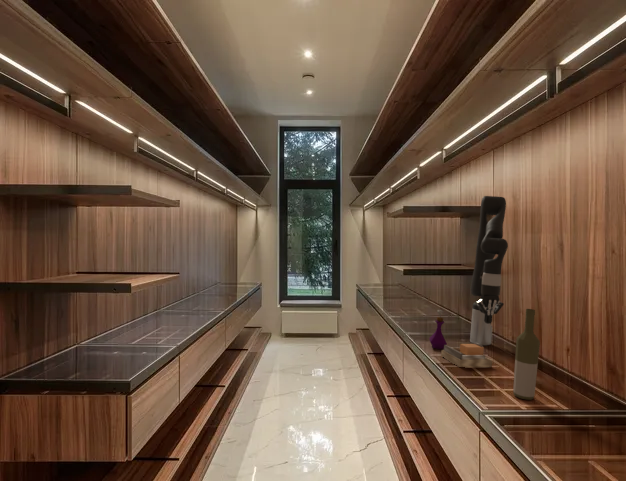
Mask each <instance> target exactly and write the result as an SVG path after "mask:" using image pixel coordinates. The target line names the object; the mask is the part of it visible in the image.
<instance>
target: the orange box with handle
mask: <svg viewBox="0 0 626 481" xmlns="http://www.w3.org/2000/svg"><path fill="white" fill-rule="evenodd" d="M459 347H460V352H461V353H463V354H465V355H484V350H485V349H484V348H485V347H484V345H481V344H478V343H476V342H475V344H474V343H460V344H459Z"/></svg>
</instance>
